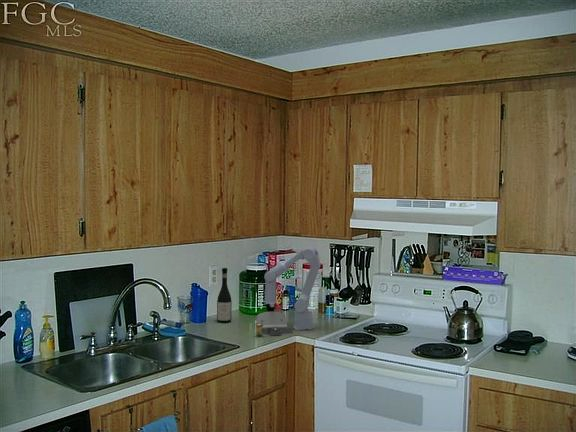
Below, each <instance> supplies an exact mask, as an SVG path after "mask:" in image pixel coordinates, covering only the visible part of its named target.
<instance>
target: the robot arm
mask: <svg viewBox="0 0 576 432" xmlns="http://www.w3.org/2000/svg"><path fill="white" fill-rule="evenodd" d="M319 256H320V254H319V252H318V250H317V248H316V247H315V246H311V245H309V246H307V247H306V248H304V249H302V250H299V251H298V252H296V253H295V254H293V256H291V257H290V258H289V259H287V260H286V261H285V262H282V261H280V262H277V263H276V265H274V267H271V268H270V269H269V270H268V271H266V272H265V273H264V276H263V277H264V281H265V285H264V287H265V292H264V299H265V300H263V301H262V302H263V303H265V304H264V306H265V308H266V312H275V308H276V307H277V305H276V303H277V301H276V299H277V283H276V281H277V278H279V277H281V276H282V275H283V274H284V273H287V271H288V269H289V267H290V266H292V265H293V264H295V263H296V262H298V261H299V260H305V261H307V262H308V264H309V266H310V268H309V270H308V273H307V276H306V278H305V281H304V285H303V288H302V290H301V293H300V295H299V298H298V299H297V301H296V302H295V303H294V324H293V325H292V327H293V329H294V330H295V331H298V330H299V331H302V330H304V331H306V329H307V330H314V315H313V311H309V310H308V308H309V306H310V302H309V301H310V298H311V297H310V296H311V293H312V290H313V288H314V285H315V282H316V280H317V276H318V274H319V271H320V268H321V261H320V260H321V259H320V257H319Z"/></svg>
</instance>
